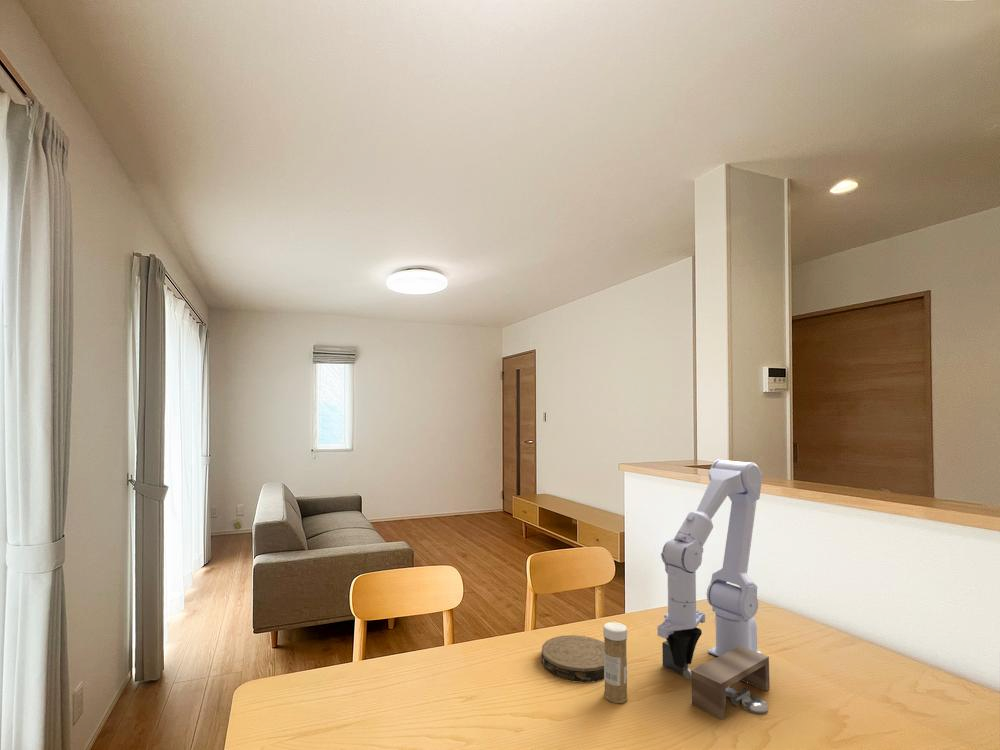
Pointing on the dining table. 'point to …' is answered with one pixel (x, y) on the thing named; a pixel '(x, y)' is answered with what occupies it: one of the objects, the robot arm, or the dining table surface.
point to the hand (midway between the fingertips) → (682, 664)
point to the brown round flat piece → (574, 658)
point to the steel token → (754, 704)
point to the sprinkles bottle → (615, 662)
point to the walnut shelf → (727, 678)
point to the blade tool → (669, 664)
